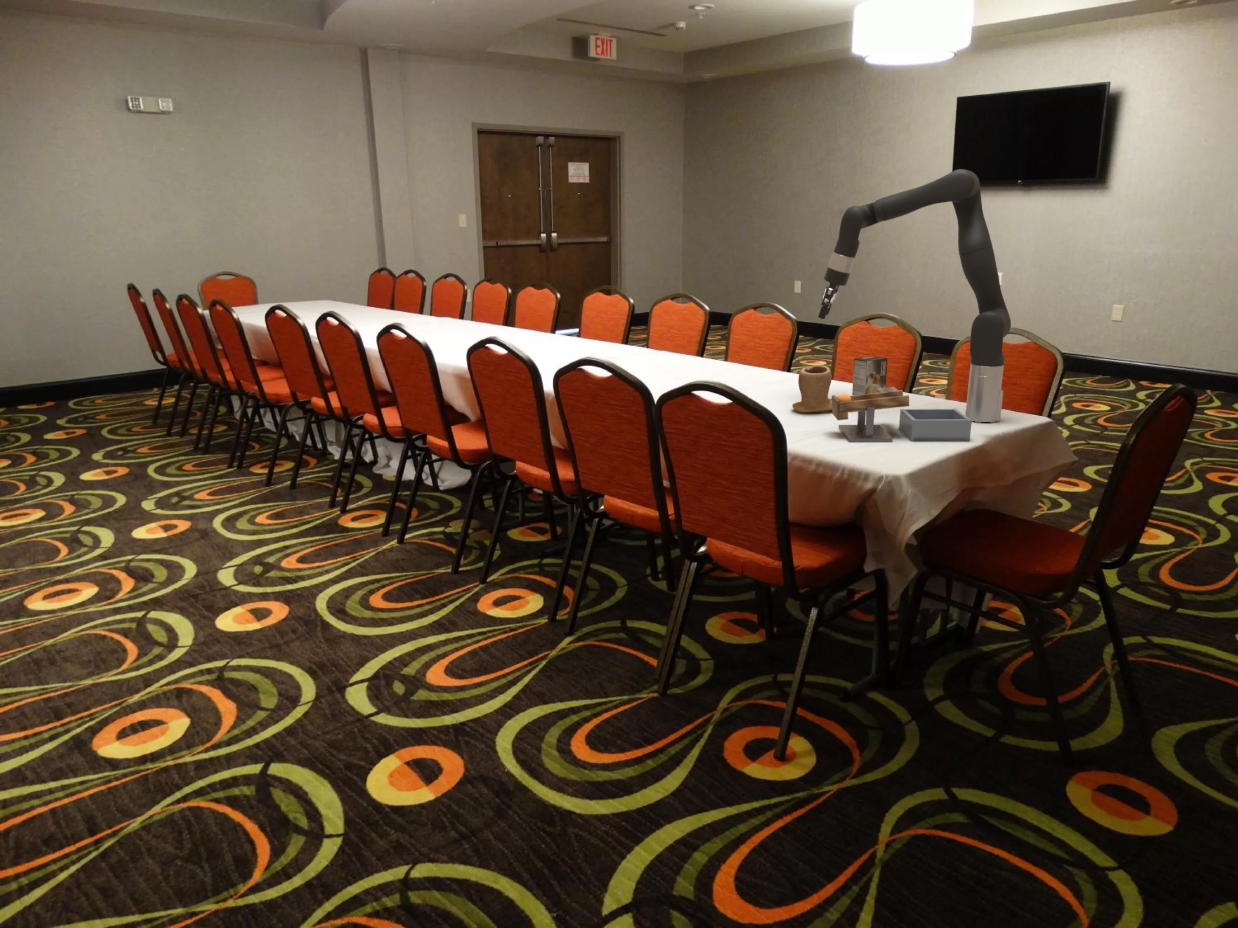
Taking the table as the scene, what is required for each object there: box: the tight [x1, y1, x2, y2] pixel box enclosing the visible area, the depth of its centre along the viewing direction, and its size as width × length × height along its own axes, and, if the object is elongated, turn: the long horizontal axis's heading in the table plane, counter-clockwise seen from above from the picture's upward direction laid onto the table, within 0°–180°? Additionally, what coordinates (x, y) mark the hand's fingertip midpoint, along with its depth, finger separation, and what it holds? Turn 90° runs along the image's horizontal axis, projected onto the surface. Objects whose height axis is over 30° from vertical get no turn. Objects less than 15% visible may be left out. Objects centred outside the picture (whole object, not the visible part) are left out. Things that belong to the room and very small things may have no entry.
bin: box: [898, 408, 973, 442], centre depth 241 cm, size 16×14×6 cm
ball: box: [837, 392, 851, 402], centre depth 241 cm, size 4×4×4 cm
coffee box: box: [851, 355, 889, 396], centre depth 277 cm, size 9×6×16 cm
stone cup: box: [791, 364, 833, 413], centre depth 271 cm, size 15×12×15 cm
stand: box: [838, 406, 893, 443], centre depth 242 cm, size 12×16×10 cm
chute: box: [831, 386, 910, 421], centre depth 245 cm, size 20×18×6 cm
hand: (823, 316), depth 278 cm, fingers open, 8 cm apart
